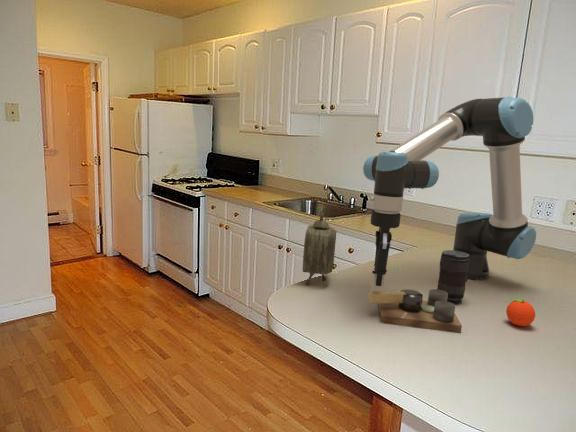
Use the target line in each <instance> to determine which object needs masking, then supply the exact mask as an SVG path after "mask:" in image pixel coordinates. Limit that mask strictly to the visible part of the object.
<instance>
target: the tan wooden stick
mask: <svg viewBox="0 0 576 432" xmlns="http://www.w3.org/2000/svg"><path fill="white" fill-rule="evenodd" d="M423 297H424V295H423V293H421V292H420V291H418V290H414V289H402V290H400V291H383V292H372V291H368V296H367V301H368V302H369V303H370V304H378V303H399V307H400V308H401V309H403V310H406V311H411V312H418V311H420V310H421V306H422V300H424V299H423Z"/></svg>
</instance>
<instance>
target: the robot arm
mask: <svg viewBox="0 0 576 432" xmlns="http://www.w3.org/2000/svg"><path fill="white" fill-rule="evenodd" d="M533 125H534V113H533V109H532V106H531V105H530V103H529V101H527V100H526V99H524V98H521V97H511V96H506V97H505V96H504V97H490V98H474V99H471V100H467V101H465V102H463V103H460V104H458V105H456V106H454V107H453V108H450V109H449V110H447V111H446V112H444V113H442V114H441V115H440V116H439V117H438V119H437V121H435V122H433V123H432V124H430V125H429V126H427V127H426V128H424V129H422V130H421V131H420V132H418V133H416V134H415V135H413V136H412V137H410V138H409V139H406V140H405V141H404V142H402V143H400V144H399V145H397V146H396V147H393V149H392V148H391V150H389V151H385V150H384V151H381V152H379V153H378V155H372V156H369V157H367V158H366V159H365V161H364V164H363V168H362V169H363V175H364V177H365V178H366V180H367V179H368V180H370V181H372V182H374V188H373V196H372V197H370V201H372V207H371V208H372V209H373V210H371V214H370V224H371V225H372V226H374V227H377V228H378V230H375V255H374V264H373V267H374V268H373V270H372V272H371V273H372V274H373V280H372V286H371V287H372V288H371V292H384V282H385V275H387V272H388V271H387V265H388V257H389V252H390V247H391V241H392V238H393V235H392V232H391V231H390V230H391V229H397V228H399V227H400V224H401V215H402V214H401V213H400V212H401V211H402V209H403V201H404V190H406V189H422V190H423V189H427V188H432V187H434V186H435V185H436V184H437V182H438V181H439V176H440V171H439V167H438V166H437V165H436V164H435V162H433V161H431V160H425V159H424V158H426V157H427V156H429V155H431V154H432V153H434V152H436V151H437V150H438V149H440V148H441V147H443V146H445V145H447V143H449V142H450V141H451V142H452V141H457V140H460V138H463V137H469V136H473V137H474V136H476V137H482V142H483V146H485V147H486V148H488V154H489V156H488V157H489V168H490V183H491V197H492V198H491V200H492V213H489V212H487V213H486V212H463V213H460V214H459V215H458V217H457V221H456V224H455V225H456V228H455V233H454V235H455V236H454V241H453V248H452V250H454V251H460V252H465V253H467V254H469V267H468V272H467V280H468V279H469V280H487V279H488V278H489V276H490V268H489V267H490V266H489V262H488V258H487V255H488V252H489V253H493V254H496V255H500V256H504V257H506V258H507V259H515V260H522V259H524V258H526V257H527V256H528V255H529V253H531V251H532V249H533V248H534V245H535V243H536V239H537V230H536V228H534V227H532V226H529V222H528V216H526V215H525V214H523V202H522V201H523V199H522V177H521V176H522V175H521V173H522V172H521V150H520V149H521V148H520V146H521V145H522V144H523V142H525V139H526V137H527V136H528V135H529V134H530V133H531V131H532V128H533V127H532V126H533ZM423 159H424V160H423Z"/></svg>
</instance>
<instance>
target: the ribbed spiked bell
mask: <svg viewBox="0 0 576 432" xmlns="http://www.w3.org/2000/svg"><path fill="white" fill-rule="evenodd" d="M324 211H325V206H324V205H322V206H321V207H320V216H319V219H317V220H315V221H314V222H313V224H312V225H310V224H309V225H308V226H307V227H306V231H305V233H304V234H305V235H304V244H303V256H302V258H303V259H302V272H303V273H308V274H309V276H308V278H307V279H306V280H305V281H304V283H305V285H307V286H308V285H310V284H311V279H312V277H313V276H314V275H315V274H317V275H321V276H322V277H321V278H320V279H321V281H322V282H326V281H327V277H326V275H328V274H331V273H332V272H333V270H334V269H333V268H334V262H335V254H336V253H335V252H336V244H337V243H336V241H337V230H336V229H335V228H333V227H331V226H330V224H329V223H328V221H326V220H325V219H324Z"/></svg>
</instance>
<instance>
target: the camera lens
mask: <svg viewBox="0 0 576 432" xmlns="http://www.w3.org/2000/svg"><path fill="white" fill-rule="evenodd" d="M468 267H469V254H467V253H465V252H460V251H454V250H453V249H451V250H450V249H447V250H443V251H441V255H440V261H439V273H438V274H439V275H438V280H437V287H436V289H439V290H443V291H445V292H447V293H448V298H447V302H450V303H453V304H454V305H460V304H461V302H462V299H464V295H465V291H466V283H467V281H468V278H467V272H468Z"/></svg>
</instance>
